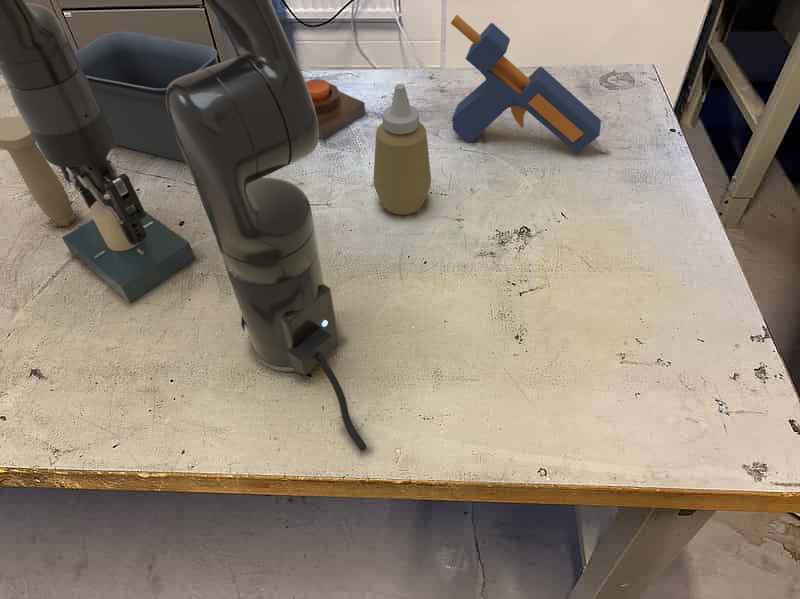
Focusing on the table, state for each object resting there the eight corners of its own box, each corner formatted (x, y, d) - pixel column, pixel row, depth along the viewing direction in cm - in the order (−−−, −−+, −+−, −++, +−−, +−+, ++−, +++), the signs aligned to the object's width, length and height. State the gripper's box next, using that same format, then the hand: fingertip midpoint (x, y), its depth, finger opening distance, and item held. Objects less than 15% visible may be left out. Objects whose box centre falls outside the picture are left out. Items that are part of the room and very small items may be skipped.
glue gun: (546, 204, 100) (618, 150, 90) (398, 96, 90) (460, 20, 79) (547, 180, 104) (617, 125, 93) (405, 74, 93) (466, -1, 83)
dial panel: (195, 259, 79) (188, 241, 77) (130, 303, 74) (120, 286, 72) (135, 215, 85) (127, 198, 83) (71, 253, 80) (60, 236, 78)
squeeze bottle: (365, 195, 87) (355, 80, 73) (414, 179, 89) (413, 64, 76) (390, 228, 82) (384, 111, 69) (441, 209, 84) (445, 92, 71)
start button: (335, 94, 99) (334, 84, 98) (316, 105, 97) (315, 95, 95) (317, 85, 101) (315, 76, 100) (298, 96, 99) (296, 86, 97)
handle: (68, 237, 82) (12, 144, 71) (35, 224, 84) (-24, 132, 73) (94, 216, 85) (44, 124, 74) (62, 204, 87) (9, 112, 76)
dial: (148, 237, 77) (132, 203, 73) (119, 256, 75) (100, 221, 71) (129, 223, 79) (113, 188, 75) (100, 241, 77) (81, 206, 73)
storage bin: (89, 151, 96) (47, 66, 85) (150, 103, 105) (119, 21, 95) (199, 180, 90) (170, 93, 80) (253, 126, 100) (233, 42, 89)
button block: (365, 114, 101) (363, 92, 98) (323, 140, 96) (320, 118, 93) (316, 91, 107) (313, 70, 104) (274, 115, 102) (269, 94, 99)
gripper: (130, 120, 62) (177, 234, 75) (61, 76, 69) (114, 189, 81) (64, 153, 59) (124, 267, 71) (-3, 104, 65) (63, 217, 77)
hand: (119, 225), depth 76 cm, fingers open, 8 cm apart
